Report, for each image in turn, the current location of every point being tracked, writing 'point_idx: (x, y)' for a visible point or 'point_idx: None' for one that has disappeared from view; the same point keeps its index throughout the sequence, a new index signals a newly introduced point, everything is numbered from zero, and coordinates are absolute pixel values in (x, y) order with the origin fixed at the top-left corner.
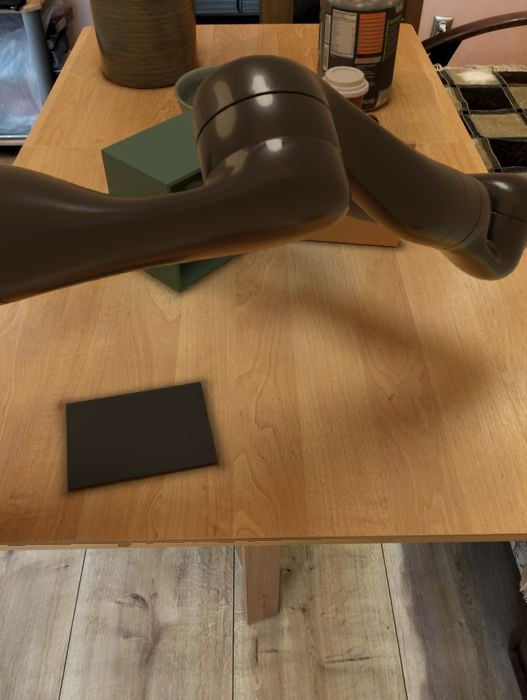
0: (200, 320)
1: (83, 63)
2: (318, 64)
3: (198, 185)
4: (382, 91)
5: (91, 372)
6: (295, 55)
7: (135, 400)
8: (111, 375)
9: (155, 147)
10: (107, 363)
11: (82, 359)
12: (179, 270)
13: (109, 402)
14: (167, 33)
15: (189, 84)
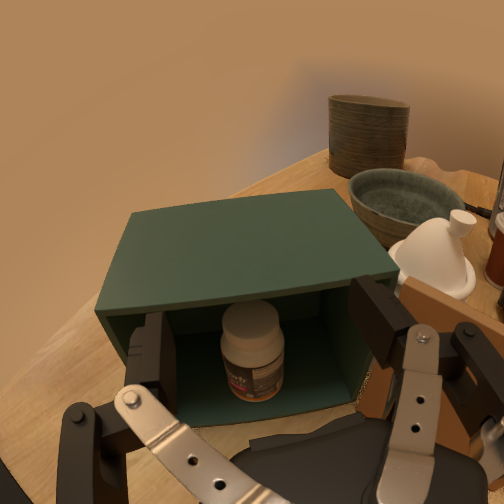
0: (148, 485)
1: (322, 155)
2: (495, 201)
3: (253, 309)
4: None
5: (27, 443)
6: (477, 192)
7: (18, 500)
8: (33, 461)
9: (182, 231)
10: (41, 447)
11: (35, 425)
12: None
13: (6, 480)
14: (377, 142)
15: (373, 179)
